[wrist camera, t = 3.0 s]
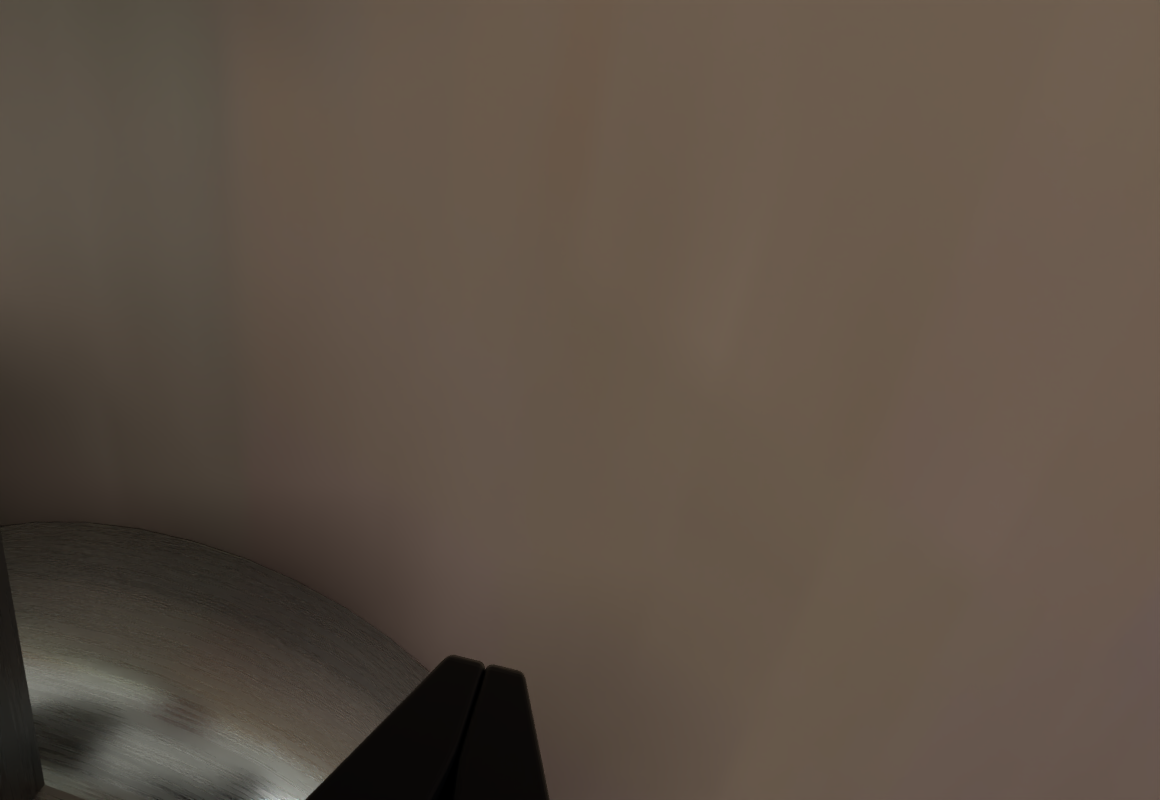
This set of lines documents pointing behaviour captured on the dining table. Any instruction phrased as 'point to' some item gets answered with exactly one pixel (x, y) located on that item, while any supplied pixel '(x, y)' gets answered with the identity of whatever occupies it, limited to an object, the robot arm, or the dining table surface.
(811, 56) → the dining table surface
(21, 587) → the cooker pot
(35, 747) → the cooker lid
